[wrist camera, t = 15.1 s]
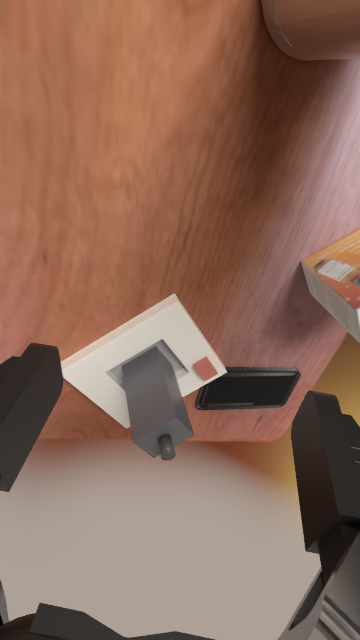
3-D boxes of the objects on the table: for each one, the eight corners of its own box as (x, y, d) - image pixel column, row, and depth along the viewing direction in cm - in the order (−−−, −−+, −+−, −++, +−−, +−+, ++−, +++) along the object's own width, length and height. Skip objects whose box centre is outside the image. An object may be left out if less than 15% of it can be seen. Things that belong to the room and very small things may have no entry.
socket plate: (174, 292, 39) (179, 304, 37) (223, 364, 47) (229, 376, 45) (58, 363, 40) (57, 377, 39) (125, 419, 49) (127, 433, 47)
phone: (209, 370, 46) (303, 371, 51) (206, 365, 47) (299, 366, 52) (195, 410, 50) (283, 408, 55) (193, 405, 51) (280, 402, 56)
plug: (155, 345, 42) (180, 434, 32) (171, 364, 44) (199, 452, 34) (121, 366, 43) (135, 459, 32) (139, 383, 45) (157, 475, 35)
